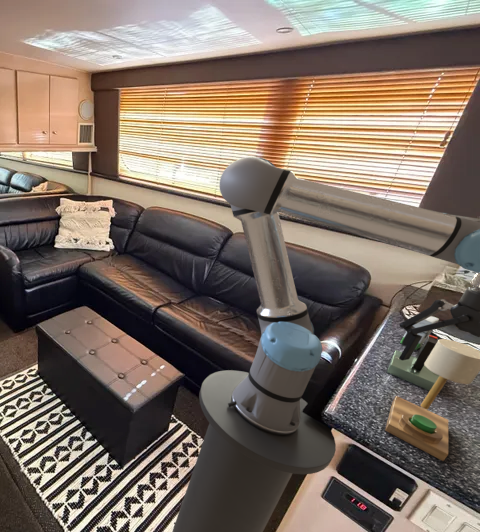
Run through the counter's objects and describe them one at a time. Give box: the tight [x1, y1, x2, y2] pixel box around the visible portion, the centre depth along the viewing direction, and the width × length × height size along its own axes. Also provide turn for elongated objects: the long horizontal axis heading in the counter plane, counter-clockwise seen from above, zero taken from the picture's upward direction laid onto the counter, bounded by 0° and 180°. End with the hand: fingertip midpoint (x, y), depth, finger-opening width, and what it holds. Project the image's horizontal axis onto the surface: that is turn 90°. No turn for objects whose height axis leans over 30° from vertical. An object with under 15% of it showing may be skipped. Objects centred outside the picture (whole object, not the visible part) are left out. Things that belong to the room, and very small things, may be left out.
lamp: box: [420, 338, 480, 410], centre depth 78 cm, size 8×8×18 cm
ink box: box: [399, 315, 440, 351], centre depth 117 cm, size 9×5×12 cm, turn 120°
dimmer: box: [386, 349, 439, 392], centre depth 101 cm, size 14×11×3 cm
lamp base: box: [384, 395, 449, 462], centre depth 78 cm, size 16×10×4 cm, turn 131°
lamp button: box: [410, 414, 437, 434], centre depth 75 cm, size 4×4×2 cm
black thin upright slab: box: [412, 334, 439, 371], centre depth 98 cm, size 6×2×10 cm, turn 131°
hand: (440, 378), depth 71 cm, fingers open, 13 cm apart
